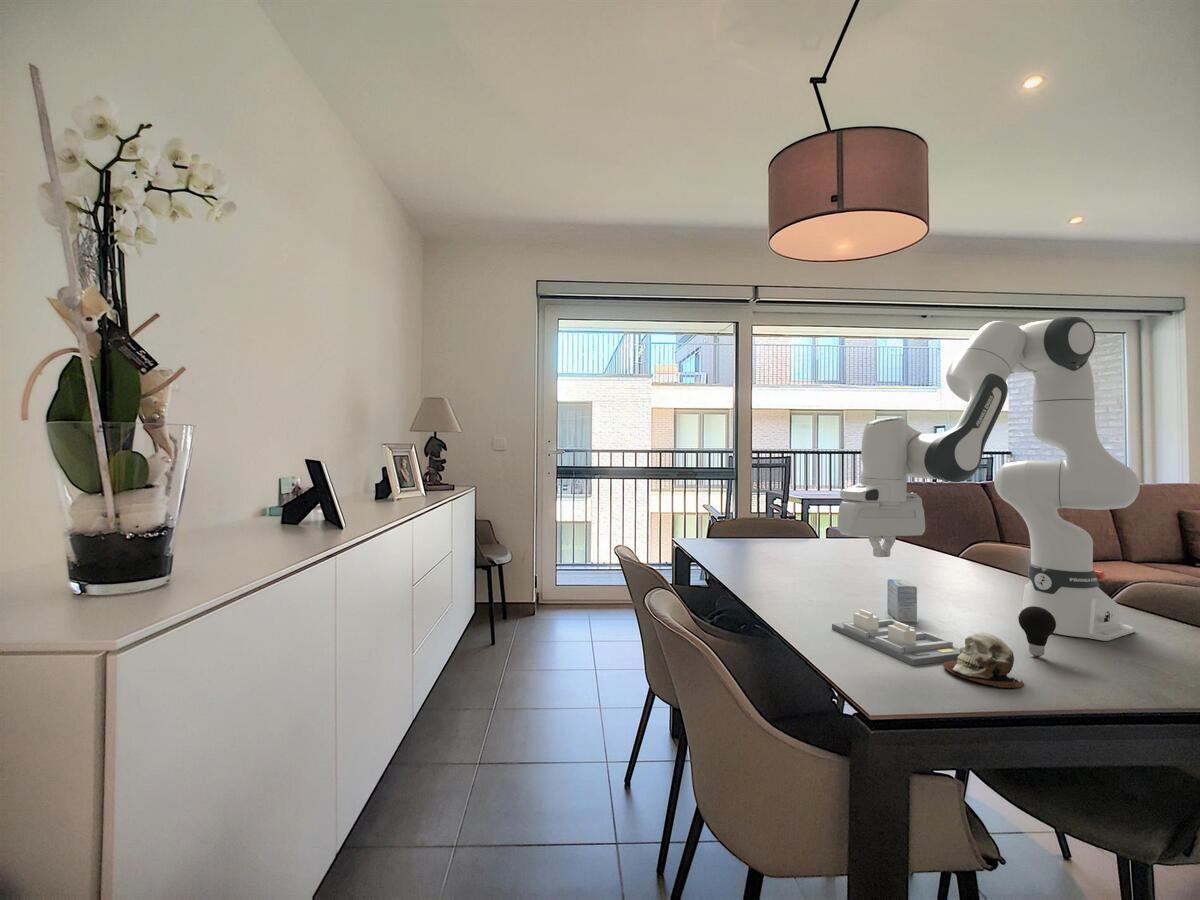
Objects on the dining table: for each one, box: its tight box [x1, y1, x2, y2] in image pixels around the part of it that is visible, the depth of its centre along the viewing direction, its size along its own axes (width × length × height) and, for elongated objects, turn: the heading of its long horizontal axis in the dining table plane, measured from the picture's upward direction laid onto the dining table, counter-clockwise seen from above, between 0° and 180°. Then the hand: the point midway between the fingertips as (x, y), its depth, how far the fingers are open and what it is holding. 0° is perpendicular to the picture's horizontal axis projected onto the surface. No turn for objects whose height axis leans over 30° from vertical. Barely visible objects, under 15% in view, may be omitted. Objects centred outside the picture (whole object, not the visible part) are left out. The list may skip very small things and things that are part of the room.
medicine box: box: [886, 578, 918, 624], centre depth 135 cm, size 8×4×9 cm, turn 168°
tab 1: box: [852, 608, 879, 632], centre depth 120 cm, size 3×4×4 cm
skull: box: [942, 631, 1024, 689], centre depth 100 cm, size 12×10×10 cm
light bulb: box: [1017, 606, 1056, 658], centre depth 109 cm, size 6×6×10 cm
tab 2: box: [888, 620, 917, 646], centre depth 111 cm, size 3×4×4 cm
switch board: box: [831, 618, 961, 667], centre depth 117 cm, size 22×14×2 cm, turn 17°
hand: (881, 556), depth 118 cm, fingers closed
